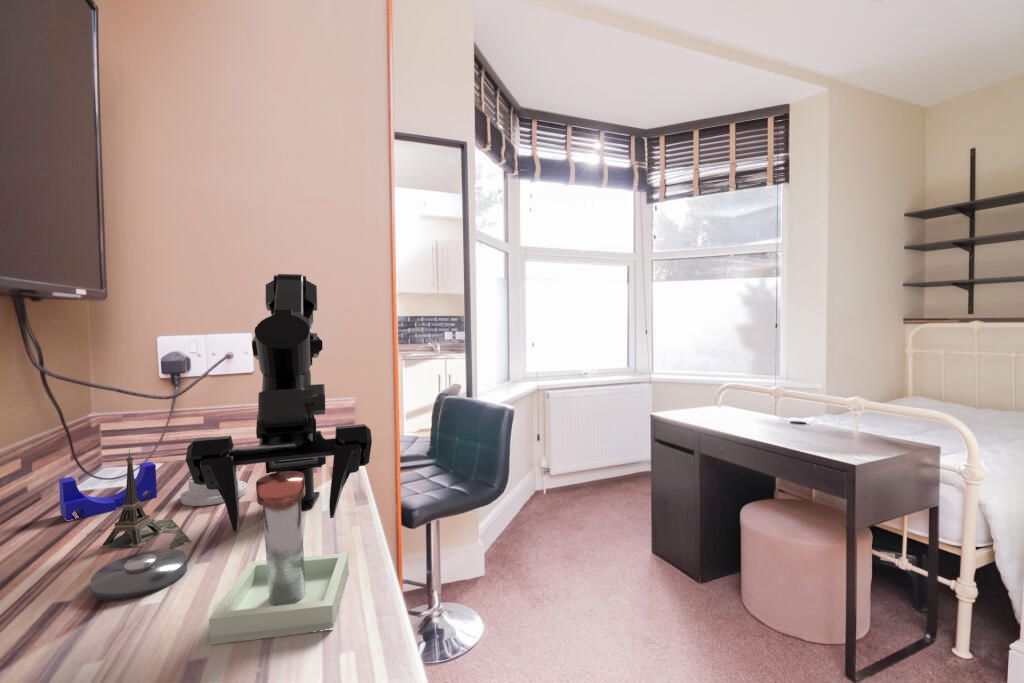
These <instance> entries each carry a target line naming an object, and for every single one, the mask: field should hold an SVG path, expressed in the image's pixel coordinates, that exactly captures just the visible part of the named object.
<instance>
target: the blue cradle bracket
mask: <svg viewBox="0 0 1024 683" xmlns="http://www.w3.org/2000/svg"><path fill="white" fill-rule="evenodd" d="M156 468H157V467H156V464H155V463H154V462H152V461H146V462H141V463H139V469H138V473H137V475H136V477H134V479H135V486H136V491H137V496H138V499H139V501H141V502H144V501H148V500H152V499H156V498H158V495H157V494H158V493H157V492H158V491H157V490H158V489H157V469H156ZM58 485H59V486H58V487H59V488H58V489H59V507H60V509H59V510H60V511H59V512H60V515H61V514H62V516H63V517H64V518H65V519H66V520H71V519H75V517H74V516H73V515H72V513H73V512H74V511H75V512H76V513H77V515H78V516H79V518H82V519H84V518H83V517H86V518H89V516H90V517H93V515H94V516H97V515H96V514H98V515H102V514H106V513H110V512H113V511H116V509H117V508H119V507H123V506H122V505H124V502H125V496H126V488H124V489H123V490H121V491H119V492H117V493H114V494H112V495H108V496H101V497H99V496H98V497H97V496H90V495H88V494H85V493H84V492H83V493H82V492H81V491H80V490H79V488H78V485H77V481H76V479H75V478H74V477H73V476H68V477H64V478H59V479H58ZM144 493H145V494H144ZM101 513H102V514H101ZM62 516H61V517H62ZM63 517H62V518H63Z"/></svg>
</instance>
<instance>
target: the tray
mask: <svg viewBox="0 0 1024 683" xmlns="http://www.w3.org/2000/svg"><path fill="white" fill-rule="evenodd" d="M349 563H350V562H349V552H344V553H333V554H325V555H324V554H323V555H312V556H311V555H310V556H304V568H305V586H306V593H305V595H304V597H303V598H302V599H300V600H299V601H297V602H295V603H293V604H289V605H280V606H273V605H271V604H270V603H269V593H268V577H267V561H266V560H260V561H259V560H258V561H249V562H248V563H247V565H246V566H245V568H244V569H243V571H242V572H241V573H240V575H239V576H238V578H237V579H236V580H235V582H234V583H233V585H232V586H231V587H230V589H229V590H228V592H227V593H226V595H224V597H223V598H222V600H221V602H219V604H218V606H217V607H216V608H215V610H214V612H213V613H212V614H211V616H210V617H209V618H208V622H209V623H208V626H209V627H208V628H209V630H208V631H209V645H210V646H213V645H221V644H229V643H236V642H246V641H253V640H254V641H255V640H262V638H263V639H269V638H271V639H272V638H279V637H287V636H294V635H301V634H302V635H303V634H304V635H305V634H309V633H308V632H313V633H315V632H314V631H320V630H325V629H330V628H333V626H334V627H335V624H334V622H335V623H336V620H335V618H336V619H337V617H336V615H337V616H338V613H339V610H338V608H339V609H340V606H339V605H341V603H340V602H342V599H341V598H343V596H342V595H344V592H343V591H345V588H344V587H346V585H345V584H347V581H348V578H347V576H348V577H349V574H350V570H349V569H350V568H349V566H350V565H349ZM348 573H349V574H348ZM346 580H347V581H346ZM337 612H338V613H337ZM333 629H334V628H333Z"/></svg>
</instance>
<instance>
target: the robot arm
mask: <svg viewBox="0 0 1024 683" xmlns="http://www.w3.org/2000/svg"><path fill="white" fill-rule="evenodd" d="M317 289H318V286H317V285H316V284H314V283H312V282H311V281H309V280H307V275H303V274H297V273H296V274H294V273H292V274H289V273H278V274H277V275H276V274H275V275H274V274H273V280H271V281H269V282H268V283H266V284H265V307H266V310H267V311H270V314H271V316H270V315H269V316H267V317H265V318H264V319H262V320H260V321H259V323H257V325H256V326H255V327H254V337H253V339H252V340H251V348H252V352H253V353H252V354H253V357H254V358H255V359H256V360H257V361H258V365H259V366H258V367H259V370H260V372H261V374H262V382H261V383H262V386H261V391H260V392H258V399H257V401H258V402H257V405H258V407H257V412H258V413H257V416H256V425H255V426H256V429H255V433H256V439H259V441H258V443H259V444H256V445H244V446H236V447H235V446H234V443H233V442H234V441H233V438H232V435H223V436H212V437H211V436H210V437H201V438H195V439H194V440H193V441H192V442H190V444H189V445H188V446H187V449H186V455H185V463H186V465H187V468H188V470H189V473H190V477H191V476H192V478H193V481H194V483H195V484H199V485H205V484H206V487H207V489H209V490H216V489H217V490H218V491H219V493H220V495H221V497H222V498H223V500H224V502H223V503H224V504H225V508H226V511H227V513H228V518H229V521H230V524H231V525H230V526H231V528H232V532H233V534H237V533H239V530H240V520H241V518H240V505H239V503H240V502H239V501H240V500H239V498H238V483H237V479H236V469H237V466H244V465H252V464H253V465H255V464H263V463H264V464H265V473H266V475H268V474H272V473H277V472H283V471H298V472H302V473H303V474H304V478H305V496H304V497H303V498H301V510H302V509H311V508H313V507H314V505H315V504H316V502H317V501H318V499H319V497H320V491H315V484H314V483H315V482H314V481H315V479H314V468H322V466H324V465H326V464H327V458H326V457H331V456H333V460H332V473H331V483H330V491H329V492H330V494H329V507H328V508H329V518H330V519H333V518H334V517H335V515H336V512H337V508H338V505H339V502H340V498H341V495H342V492H343V490H344V487H345V485H346V483H347V481H348V478H349V477H350V475H351V474H352V473H356V472H358V471H360V467H364V466H366V465H368V464H369V463H370V457H371V450H372V443H373V441H372V440H373V439H372V432H371V428H370V427H369V426H368V425H366V424H365V423H361V424H352V425H349V424H348V425H340V426H339V425H338V426H335V435H334V436H335V438H325V437H324V436H323V434H322V431H321V430H317V419H316V417H315V416H316V415H317V416H318V415H325V413H326V390H325V389H326V388H325V385H326V384H324V383H318V384H312V375H311V369H310V368H311V366H312V365H313V359H315V358H317V359H318V357H319V356H320V352H321V351H323V348H324V347H323V340H321V339H320V337H319V336H318V333H316V332H313V331H312V325H313V323H314V312H315V311H316V312H317V311H318V290H317Z"/></svg>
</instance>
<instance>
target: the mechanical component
mask: <svg viewBox="0 0 1024 683" xmlns="http://www.w3.org/2000/svg"><path fill="white" fill-rule="evenodd" d="M236 479H237V483H238V499H239V498H240V497H242V496H244V495H246V493H247V491H248V484H247V482H245V481H243V480H240V471H239V469H238V468H236ZM180 503H181V504H182V505H183V506H190V507H205V506H211V505H218V504H223V503H225V502H224V500H223V498H222V497H221V495H220V493H219V491H218V490H217V489H216V490H209V489H207V487H206V484H205V485H199V484H195V483H194V481H193V478H192V476H191V475H190V477H188V488H187V489H185V490H183V491H182V492H181V493H180Z"/></svg>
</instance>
